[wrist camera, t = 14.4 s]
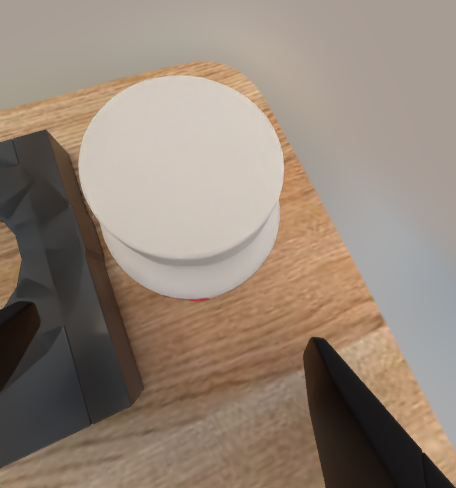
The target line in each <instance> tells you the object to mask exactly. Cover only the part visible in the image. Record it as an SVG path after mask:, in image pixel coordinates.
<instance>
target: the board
mask: <svg viewBox="0 0 456 488" xmlns="http://www.w3.org/2000/svg"><path fill="white" fill-rule="evenodd" d="M0 222H4V223H5V224H6V225H7V226H8V227H9V228H10V229H11V231H12V232H13V233H14V234H15V235H16V239H17V242H18V246H19V250H20V254H21V258H22V262H21V267H20V272H19V278H18V283H17V288H16V289H15V291H14V292H13V294H12V296H11V297H10V299H9V300H8V302H7V304H6V305H5V307H7V306H9V305H11V304H13V303H15V302H18V301H28V302H34V303H35V304H36V307H37V310H38V313H39V316H40V319H41V324H40V327H39V329H38V331H37V333H36V334H35V336H34V338H33V340H32V341H31V343H30V345H29V347H28V349H27V350H26V352H25V354H24V356H23V357H22V359H21V361H20V363H19V365H18V366H17V368H16V370H15V371H14V373H13V375H12V376H11V378H10V379H9V381H8V382H7V384H6V385H5V387H4V388H3V389H2V391H1V392H0V468H2V467H4V466H6V465H9V464H11V463H13V462H15V461H17V460H19V459H21V458H23V457H25V456H28V455H30V454H32V453H34V452H36V451H38V450H40V449H42V448H44V447H46V446H49V445H51V444H53V443H55V442H57V441H59V440H61V439H63V438H65V437H68V436H70V435H72V434H74V433H76V432H78V431H80V430H82V429H84V428H86V427H89V426H91V425H92V424H95V423H97V422H99V421H101V420H103V419H106V418H108V417H110V416H112V415H114V414H116V413H118V412H120V411H122V410H125V409H127V408H129V407H131V406H132V405H133V404H134V402H135V401H136V399H137V398H138V397H139V395H140V394H141V393H142V391H143V390H144V386H143V383H142V380H141V377H140V374H139V371H138V368H137V365H136V361H135V358H134V355H133V352H132V349H131V346H130V343H129V340H128V337H127V334H126V331H125V327H124V324H123V321H122V318H121V315H120V312H119V309H118V306H117V303H116V300H115V297H114V293H113V290H112V287H111V284H110V281H109V278H108V275H107V272H106V269H105V266H104V254H103V251H102V248H101V245H100V242H99V239H98V236H97V233H96V230H95V227H94V224H93V220H92V219H91V218H90V217H89V216H88V213H87V210H86V207H85V204H84V201H83V198H82V195H81V191H80V188H79V185H78V182H77V179H76V176H75V173H74V170H73V167H72V164H71V161H70V157H69V154H68V153H67V152H66V151H65V150H64V149H63V148H62V146H61V145H60V144H59V143H58V142H57V141H56V140H55V139H54V138H53V137H52V136H51V134H50V133H49V132H48V131H47V130H43V131H39V132H35V133H32V134H28V135H24V136H21V137H17V138H13V140H12V139H10V140H6V141H3V142H0ZM5 307H4V308H5Z"/></svg>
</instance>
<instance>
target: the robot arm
mask: <svg viewBox="0 0 456 488" xmlns="http://www.w3.org/2000/svg"><path fill="white" fill-rule="evenodd" d="M40 324H41V319H40V316H39V313H38V310H37V307H36V304H35V303H34V302H28V301H18V302H15V303H13V304H11V305H9V306H7V307H5V308H3V309H1V310H0V392H1V391H2V389H3V388H4V387H5V385H6V384H7V382H8V381H9V379H10V378H11V376H12V375H13V373H14V371H15V370H16V368H17V366H18V365H19V363H20V361H21V359H22V357H23V356H24V354H25V352H26V350H27V349H28V347H29V345H30V343H31V341H32V340H33V338H34V336H35V334H36V333H37V331H38V329H39V327H40ZM303 361H304V370H305V379H306V388H307V398H308V405H309V411H310V416H311V421H312V426H313V430H314V435H315V440H316V444H317V449H318V454H319V459H320V463H321V468H322V473H323V477H324V482H325V487H326V488H455V487H454V485H453V484H452V483H451V482H450V481H449V480H448V479H447V478H446V477H445V475H444V474H443V473H442V472H441V471H440V470H439V469H438V468H437V466H436V465H435V464H434V463H433V462H432V461H431V460H430V458H429V457H428V456H427V455H426V454H425V453H423V452H422V450H421V448H420V447H419V446H418V445H417V444H416V443H415V441H414V440H413V439H412V438H411V437H410V436H409V435H408V433H407V432H406V431H405V430H404V429H403V428H402V427H401V425H400V424H399V423H398V422H397V421H396V420H395V419H394V417H393V416H392V415H391V414H390V413H389V412H388V411H387V409H386V408H385V407H384V406H383V405H382V404H381V403H380V401H379V400H378V399H377V398H376V397H375V396H374V395H373V393H372V392H371V391H370V390H369V389H368V388H367V387H366V385H365V384H364V383H363V382H362V381H361V380H360V378H359V377H358V376H357V375H356V374H355V373H354V372H353V370H352V369H351V368H350V367H349V366H348V365H347V364H346V362H345V361H344V360H343V359H342V358H341V357H340V356H339V354H338V353H337V352H336V351H335V350H334V349H333V348H332V346H331V345H330V344H329V343H328V342H327V341H326V340H325V339H324V338H320V337H311V338H310V340H309V342H308V344H307V346H306V348H305V351H304V354H303Z"/></svg>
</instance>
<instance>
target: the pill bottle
mask: <svg viewBox="0 0 456 488" xmlns="http://www.w3.org/2000/svg"><path fill="white" fill-rule="evenodd" d="M79 177H80V183H81V187H82V191H83V194H84V197H85V199H86V201H87V203H88V205H89V207H90V209H91V211H92V212H93V214H94V215H95V217H96V218H97V220H98V221H99V222H100V226H101V230H102V234H103V237H104V240H105V243H106V245H107V247H108V249H109V251H110V253H111V255H112V257H113V258H114V260H115V261H116V262H117V264H118V265H119V266H120V267H121V268H122V270H123V271H124V272H125V273H126V274H127V275H129V276H130V277H131V278H132V279H133V280H135V281H136V282H137V283H139V284H141V285H142V286H144V287H146V288H147V289H150V290H152V291H154V292H156V293H158V294H161V295H163V296H166V297H172V298H178V299H184V300H190V301H205V300H210V299H214V298H216V297H218V296H221V295H223V294H225V293H227V292H229V291H231V290H233V289H235V288H237V287H238V286H239V285H241V284H242V283H244V282H245V281H246V280H247V279H249V278H250V277H251V276H252V275H253V274H254V273H255V272H256V271H257V270H258V269H259V268H260V267H261V266H262V264H263V263H264V261H265V260H266V258H267V257H268V255H269V254H270V252H271V250H272V247H273V245H274V243H275V240H276V237H277V232H278V228H279V220H280V207H279V200H278V198H279V196H280V193H281V189H282V184H283V177H284V161H283V153H282V149H281V145H280V142H279V139H278V136H277V134H276V132H275V130H274V128H273V126H272V124H271V123H270V121H269V120H268V118H267V117H266V116H265V114H264V113H263V112H262V111H261V110H260V109H259V108H258V107H257V106H256V105H255V104H254V103H253V102H252V101H251V100H249V99H248V98H247V97H246V96H244V95H242V94H241V93H239V92H237V91H236V90H234V89H232V88H230V87H228V86H226V85H224V84H221V83H218V82H216V81H213V80H210V79H207V78H201V77H195V76H185V75H175V76H164V77H157V78H152V79H149V80H145V81H142V82H139V83H136V84H134V85H132V86H130V87H128V88H126V89H124V90H123V91H121V92H120V93H118V94H117V95H115V96H114V97H113V98H111V99H110V100H109V101H108V102H107V103H106V104H105V105H104V106H103V107H102V108H101V109H100V110H99V111H98V112H97V114H96V115H95V116H94V118H93V119H92V121H91V122H90V124H89V126H88V128H87V130H86V132H85V134H84V137H83V140H82V144H81V148H80V153H79Z"/></svg>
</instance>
